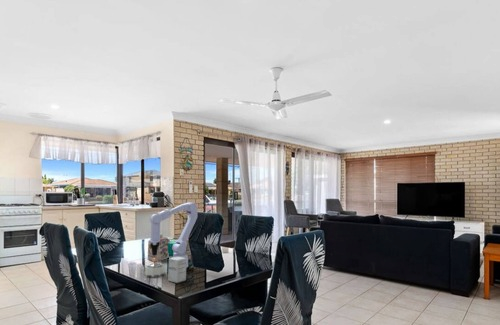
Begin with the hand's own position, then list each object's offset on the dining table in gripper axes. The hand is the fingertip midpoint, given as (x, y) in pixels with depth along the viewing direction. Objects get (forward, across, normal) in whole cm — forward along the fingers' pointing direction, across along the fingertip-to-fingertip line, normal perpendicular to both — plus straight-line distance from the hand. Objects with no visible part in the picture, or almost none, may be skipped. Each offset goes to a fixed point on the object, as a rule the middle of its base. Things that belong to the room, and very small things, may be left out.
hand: (154, 254), depth 200 cm
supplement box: (+11, +24, +14) cm, 30 cm away
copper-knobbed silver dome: (+5, +7, +1) cm, 9 cm away
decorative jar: (+11, -36, +1) cm, 38 cm away
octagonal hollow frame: (+10, +7, 0) cm, 13 cm away
